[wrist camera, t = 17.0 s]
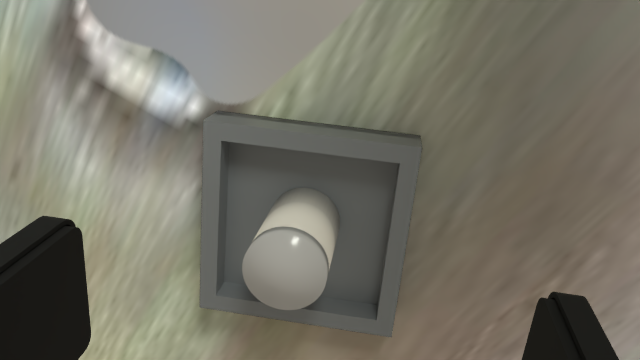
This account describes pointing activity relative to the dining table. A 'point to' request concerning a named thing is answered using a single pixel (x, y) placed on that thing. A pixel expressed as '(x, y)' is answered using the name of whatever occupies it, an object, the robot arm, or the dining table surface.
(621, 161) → the dining table surface
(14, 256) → the robot arm
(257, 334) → the dining table surface
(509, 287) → the dining table surface
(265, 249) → the cylinder
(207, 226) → the tray
